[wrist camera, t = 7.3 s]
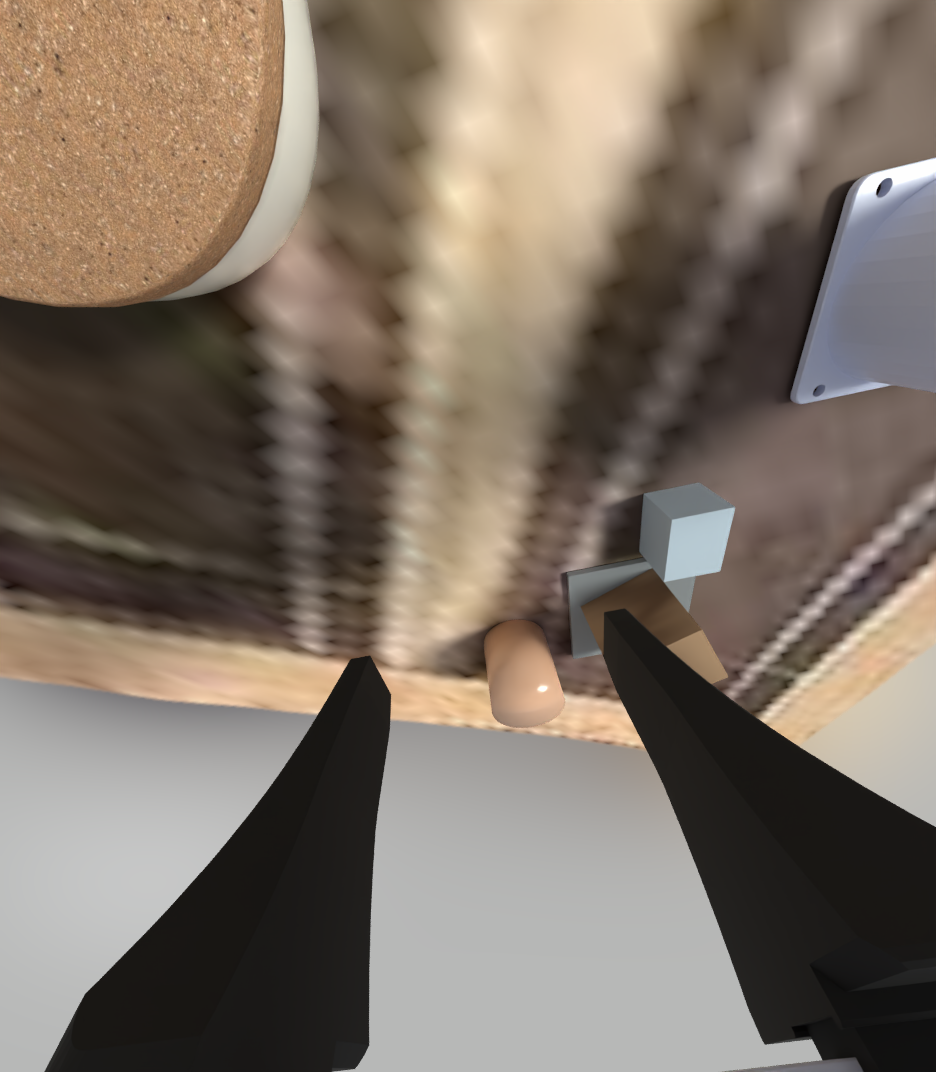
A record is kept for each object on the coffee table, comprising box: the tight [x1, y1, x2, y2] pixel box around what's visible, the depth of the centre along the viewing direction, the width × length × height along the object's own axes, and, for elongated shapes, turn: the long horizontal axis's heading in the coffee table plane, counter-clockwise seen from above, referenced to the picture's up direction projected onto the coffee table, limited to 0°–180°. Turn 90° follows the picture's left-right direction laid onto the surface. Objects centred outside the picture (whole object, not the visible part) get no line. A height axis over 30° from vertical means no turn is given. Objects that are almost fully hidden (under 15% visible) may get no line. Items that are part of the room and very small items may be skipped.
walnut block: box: [581, 568, 728, 684], centre depth 22 cm, size 5×5×5 cm
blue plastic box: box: [639, 483, 735, 582], centre depth 20 cm, size 3×4×3 cm
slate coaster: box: [567, 558, 696, 659], centre depth 24 cm, size 8×8×1 cm
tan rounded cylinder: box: [484, 620, 565, 728], centre depth 23 cm, size 4×4×5 cm
